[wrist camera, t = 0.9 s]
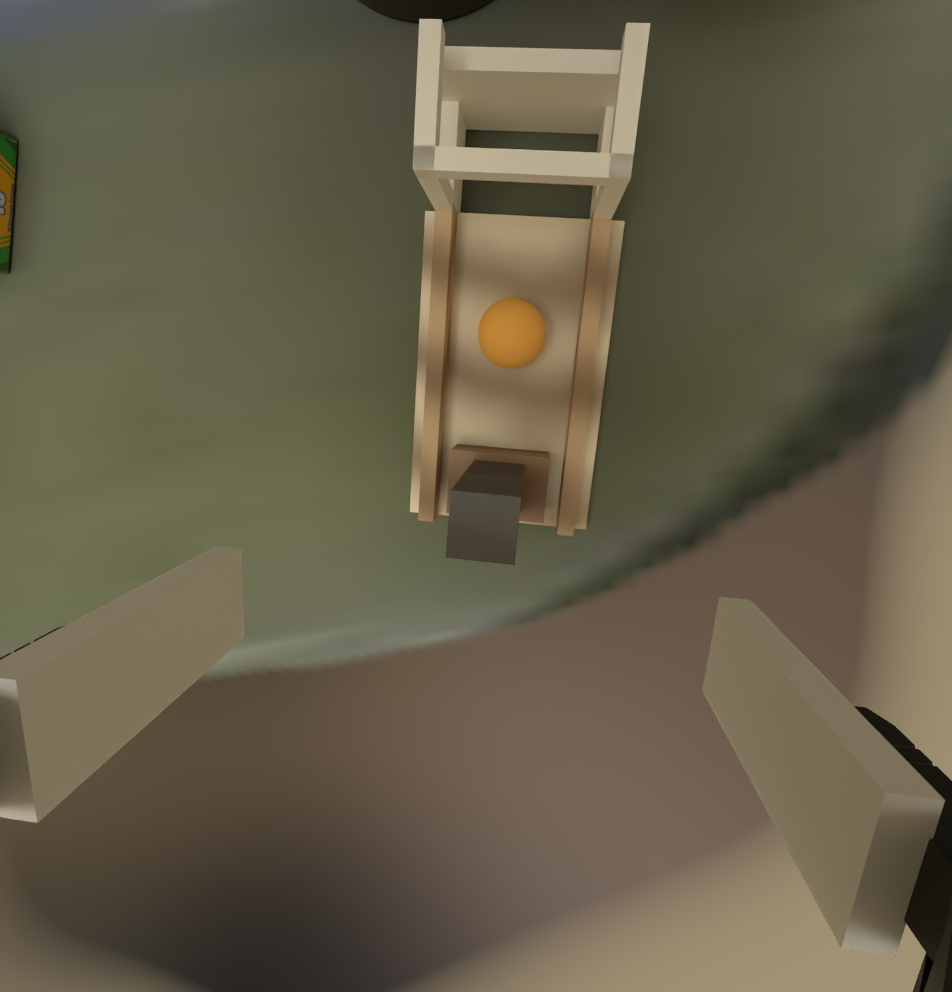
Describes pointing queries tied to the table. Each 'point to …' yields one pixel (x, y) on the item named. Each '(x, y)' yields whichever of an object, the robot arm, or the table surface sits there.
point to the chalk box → (6, 194)
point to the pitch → (528, 389)
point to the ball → (511, 333)
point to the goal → (526, 114)
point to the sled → (493, 500)
